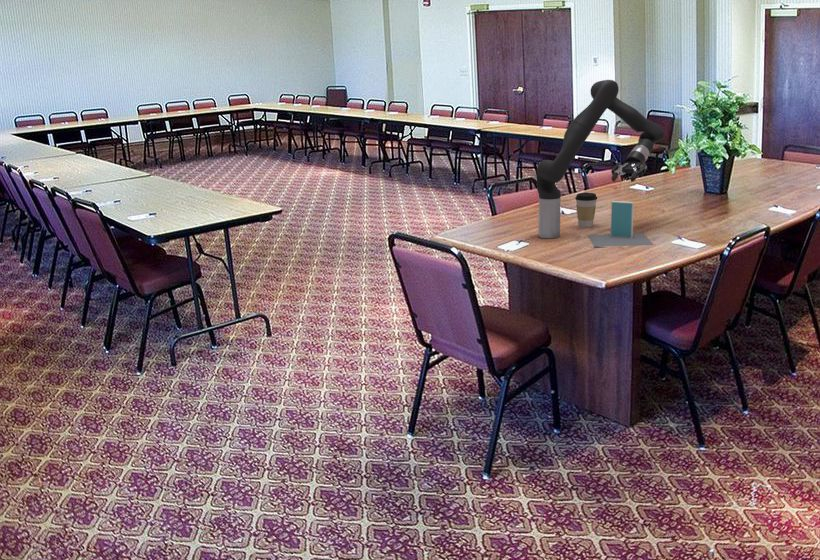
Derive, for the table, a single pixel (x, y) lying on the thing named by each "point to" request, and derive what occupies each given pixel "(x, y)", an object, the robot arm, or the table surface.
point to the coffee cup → (585, 209)
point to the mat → (618, 240)
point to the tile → (622, 218)
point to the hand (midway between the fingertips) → (622, 180)
